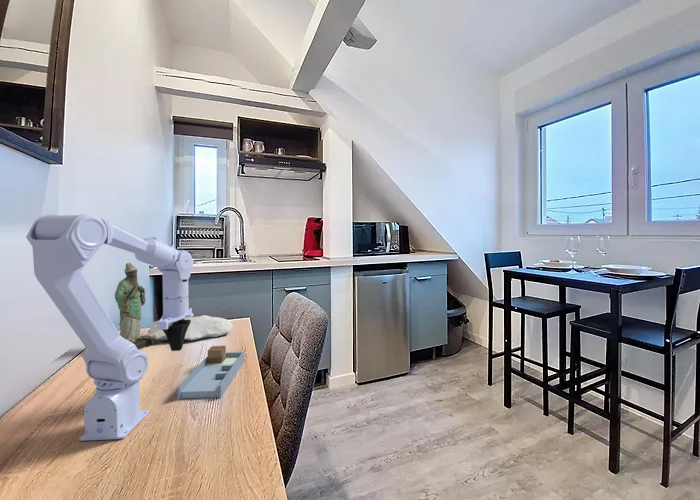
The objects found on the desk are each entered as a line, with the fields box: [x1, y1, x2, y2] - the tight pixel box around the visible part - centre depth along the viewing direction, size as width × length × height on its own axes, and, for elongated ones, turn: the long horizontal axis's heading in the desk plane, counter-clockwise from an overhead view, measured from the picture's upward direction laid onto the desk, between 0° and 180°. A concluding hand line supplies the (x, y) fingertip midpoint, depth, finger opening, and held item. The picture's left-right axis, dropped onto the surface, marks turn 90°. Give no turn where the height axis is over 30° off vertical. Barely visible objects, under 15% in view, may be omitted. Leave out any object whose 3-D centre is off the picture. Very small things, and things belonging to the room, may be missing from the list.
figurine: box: [114, 262, 153, 350], centre depth 112 cm, size 10×10×30 cm
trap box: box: [176, 351, 245, 401], centre depth 88 cm, size 23×10×3 cm, turn 5°
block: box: [207, 345, 227, 364], centre depth 96 cm, size 4×4×4 cm
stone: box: [147, 314, 234, 342], centre depth 127 cm, size 21×8×30 cm
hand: (176, 349), depth 81 cm, fingers closed
